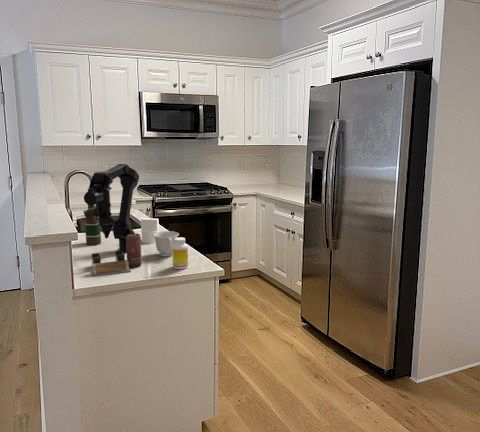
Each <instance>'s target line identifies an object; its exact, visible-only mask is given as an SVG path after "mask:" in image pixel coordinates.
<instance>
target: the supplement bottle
mask: <svg viewBox="0 0 480 432" xmlns="http://www.w3.org/2000/svg"><path fill="white" fill-rule="evenodd" d="M174 242H175V244H174V245H173V246H172V255H171V256H172V268H173V269H175V270H184V269H185V270H186V269H187V268H188V266H189V258H188V257H189V255H188V253H189V248H188V244H187V243H186V238H185V237H182V236H181V237H177V238H175V239H174Z"/></svg>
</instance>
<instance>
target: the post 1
mask: <svg viewBox="0 0 480 432" xmlns="http://www.w3.org/2000/svg"><path fill="white" fill-rule="evenodd" d="M101 261H102V260H101V256H100V253H99V252H98V253H91V264H92V267H93V264H97V263H102V262H101Z"/></svg>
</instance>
